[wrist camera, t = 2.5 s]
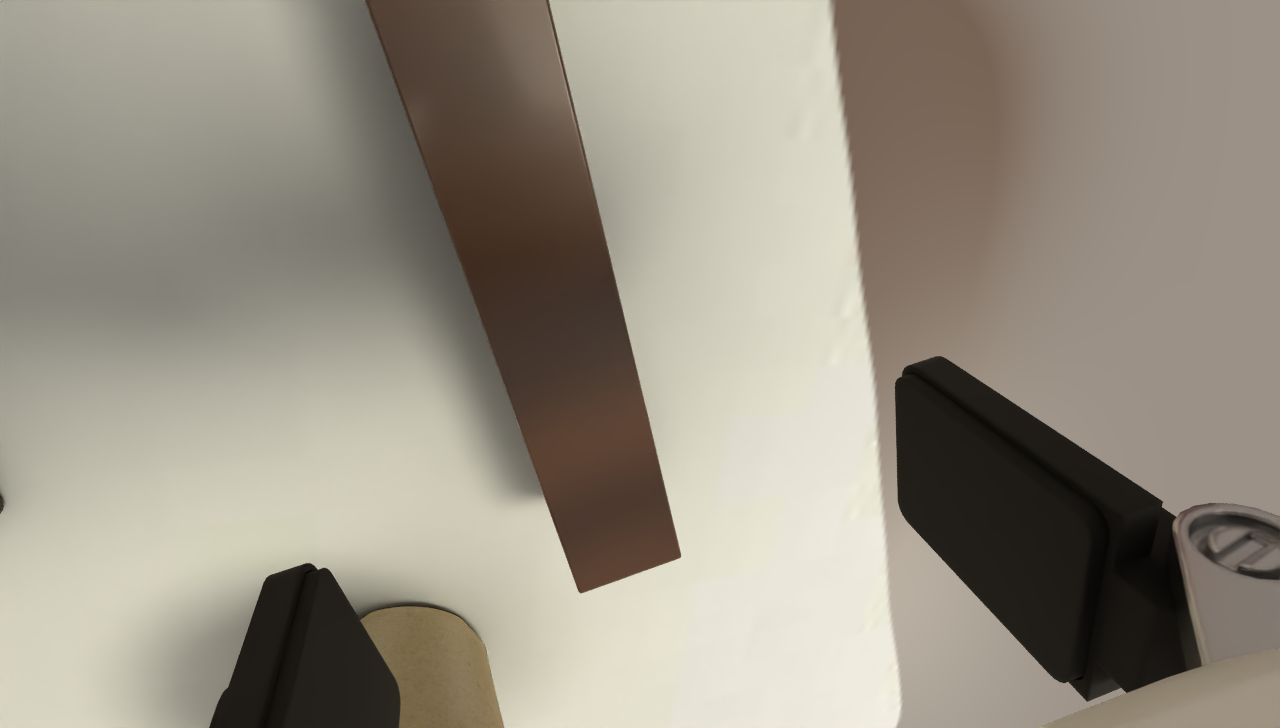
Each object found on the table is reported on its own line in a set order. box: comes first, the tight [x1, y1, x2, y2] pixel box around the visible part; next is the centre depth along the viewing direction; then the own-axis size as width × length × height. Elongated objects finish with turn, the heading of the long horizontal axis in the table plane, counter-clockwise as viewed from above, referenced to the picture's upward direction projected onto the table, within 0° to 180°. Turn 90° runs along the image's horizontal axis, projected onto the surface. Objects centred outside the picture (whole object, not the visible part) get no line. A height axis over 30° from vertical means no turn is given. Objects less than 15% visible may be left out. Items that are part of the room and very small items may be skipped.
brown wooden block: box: [365, 0, 681, 593], centre depth 18 cm, size 16×3×5 cm, turn 12°
